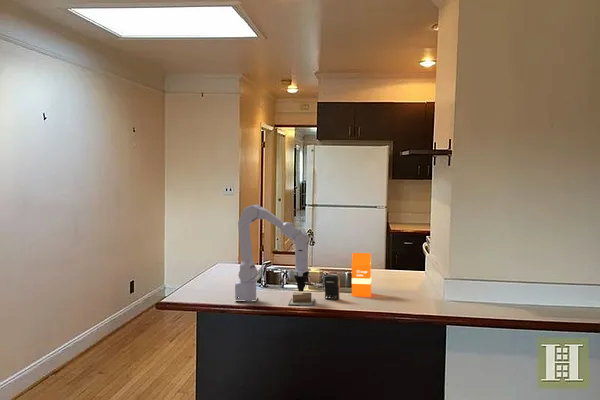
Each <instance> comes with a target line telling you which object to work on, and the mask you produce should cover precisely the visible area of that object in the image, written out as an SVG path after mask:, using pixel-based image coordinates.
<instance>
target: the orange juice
mask: <svg viewBox="0 0 600 400" xmlns="http://www.w3.org/2000/svg"><path fill="white" fill-rule="evenodd" d="M351 259H352V260H351V297H363V298H365V297H366V298H367V297H368V298H371V296H372V254H371V252H368V253H367V252H352V258H351Z"/></svg>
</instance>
